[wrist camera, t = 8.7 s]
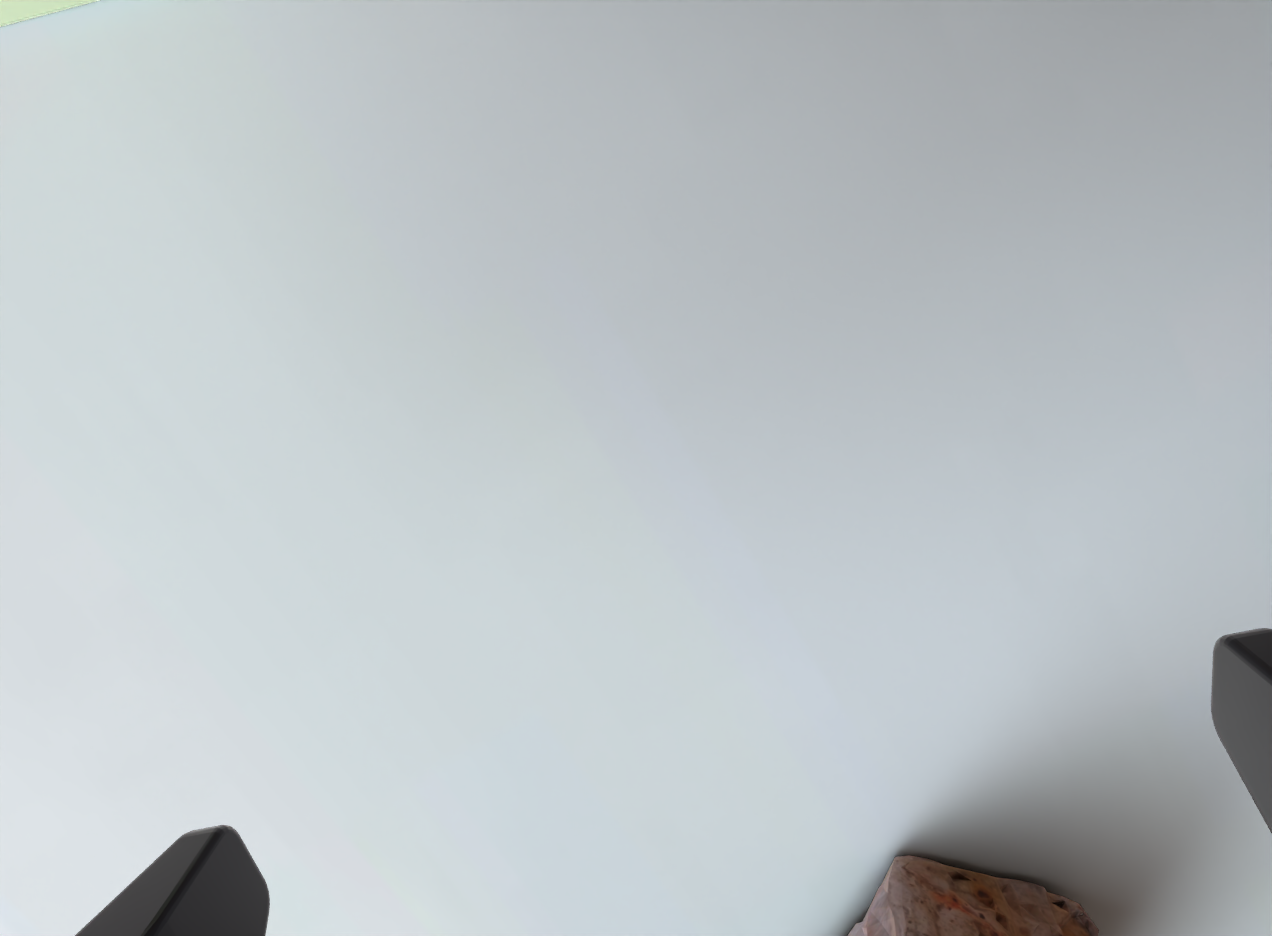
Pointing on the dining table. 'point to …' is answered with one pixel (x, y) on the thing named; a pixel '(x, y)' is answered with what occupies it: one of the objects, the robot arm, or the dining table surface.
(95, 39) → the dining table surface
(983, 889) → the food item
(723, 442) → the dining table surface
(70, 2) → the pad
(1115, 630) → the dining table surface
